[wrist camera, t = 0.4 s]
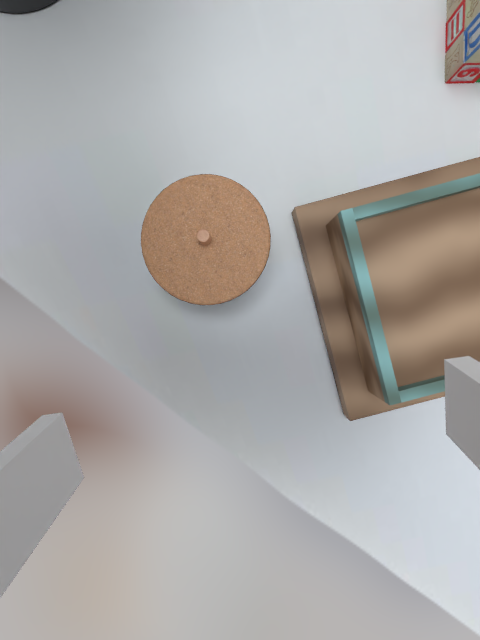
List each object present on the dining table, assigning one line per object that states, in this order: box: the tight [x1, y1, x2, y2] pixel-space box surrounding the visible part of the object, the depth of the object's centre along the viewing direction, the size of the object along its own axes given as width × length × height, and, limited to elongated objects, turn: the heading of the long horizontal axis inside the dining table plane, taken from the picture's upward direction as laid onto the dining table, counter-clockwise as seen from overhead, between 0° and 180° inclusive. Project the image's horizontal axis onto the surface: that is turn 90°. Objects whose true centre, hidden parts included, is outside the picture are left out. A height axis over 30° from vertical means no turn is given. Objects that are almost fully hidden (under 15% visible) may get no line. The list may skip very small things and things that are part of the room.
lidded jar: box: [141, 174, 271, 305], centre depth 31 cm, size 11×11×9 cm
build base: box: [292, 157, 480, 421], centre depth 32 cm, size 22×22×7 cm
